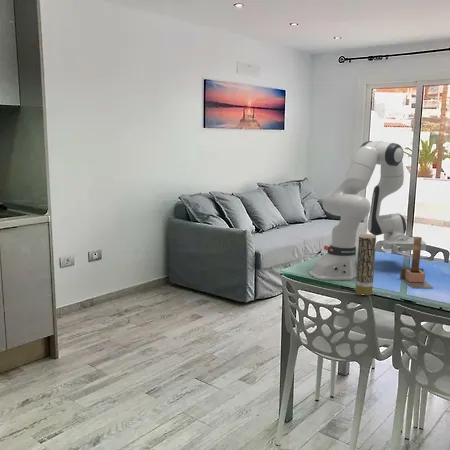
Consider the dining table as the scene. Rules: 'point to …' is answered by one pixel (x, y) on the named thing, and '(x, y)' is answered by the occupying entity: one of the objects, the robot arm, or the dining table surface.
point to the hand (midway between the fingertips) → (408, 248)
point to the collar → (415, 276)
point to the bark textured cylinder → (365, 264)
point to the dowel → (416, 255)
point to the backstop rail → (414, 284)
